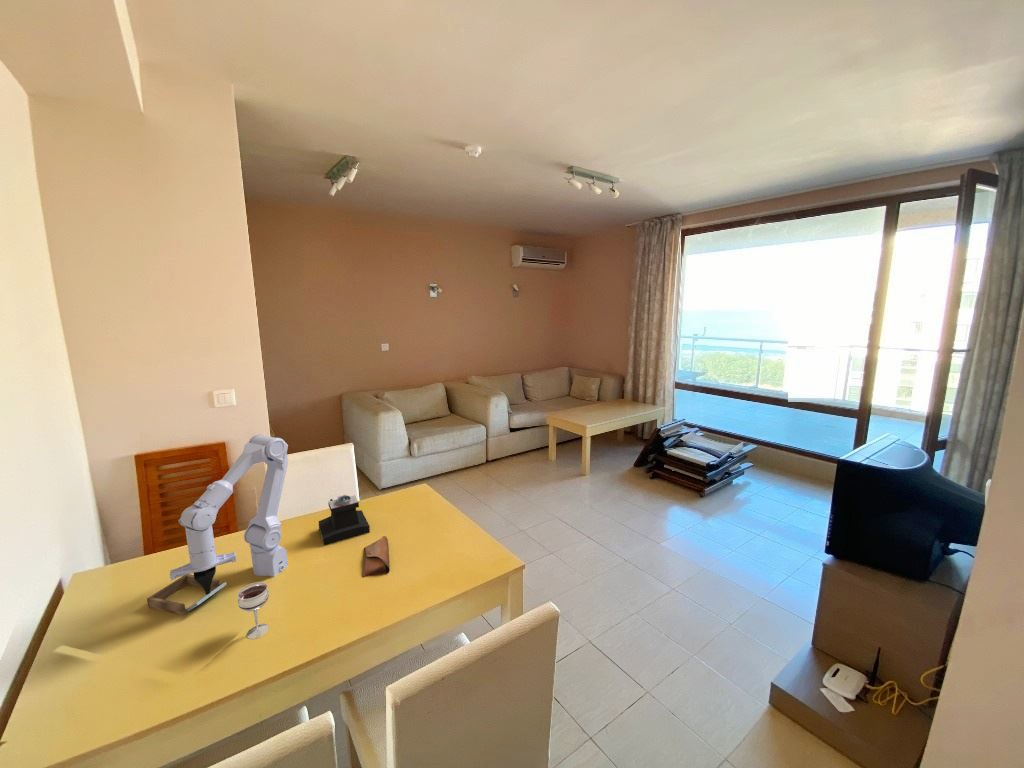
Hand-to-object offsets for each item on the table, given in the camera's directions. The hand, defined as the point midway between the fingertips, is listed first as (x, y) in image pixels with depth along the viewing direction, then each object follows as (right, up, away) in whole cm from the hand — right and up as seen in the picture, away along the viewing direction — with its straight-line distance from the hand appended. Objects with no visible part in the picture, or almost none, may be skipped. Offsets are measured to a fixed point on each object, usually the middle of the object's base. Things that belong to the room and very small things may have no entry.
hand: (208, 592), depth 114 cm
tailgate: (-3, -3, +1) cm, 4 cm away
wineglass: (+19, -6, -8) cm, 21 cm away
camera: (+21, +3, +41) cm, 46 cm away
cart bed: (-8, -4, +3) cm, 10 cm away
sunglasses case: (+40, -1, +23) cm, 46 cm away
